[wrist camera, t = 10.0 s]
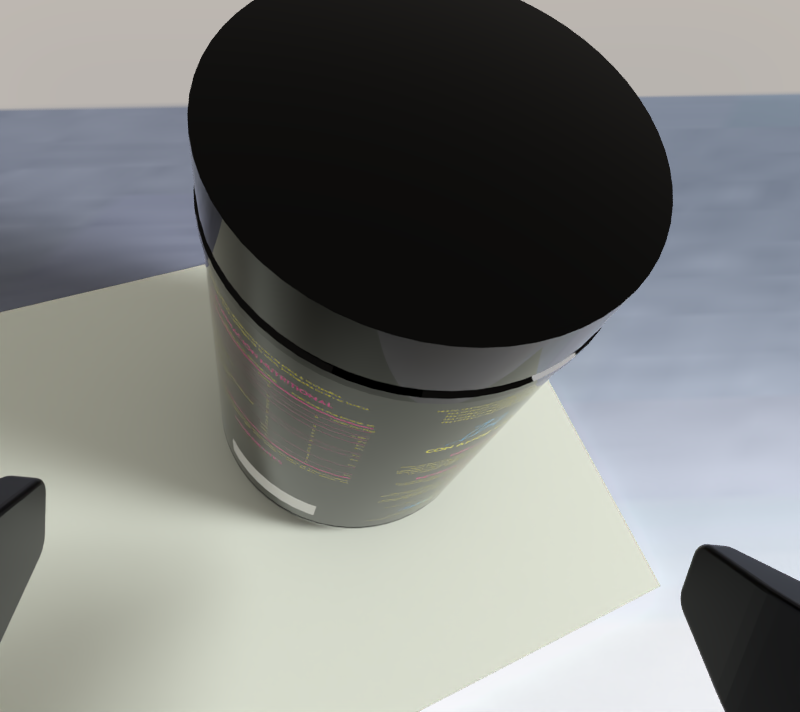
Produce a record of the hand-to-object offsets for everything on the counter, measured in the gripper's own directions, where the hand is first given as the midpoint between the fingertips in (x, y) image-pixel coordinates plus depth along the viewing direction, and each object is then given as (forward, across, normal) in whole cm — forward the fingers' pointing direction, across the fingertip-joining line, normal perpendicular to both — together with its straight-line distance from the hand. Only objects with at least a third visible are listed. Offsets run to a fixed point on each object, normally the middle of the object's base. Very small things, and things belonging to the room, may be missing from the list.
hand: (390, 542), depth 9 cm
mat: (+8, +2, +4) cm, 9 cm away
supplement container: (+9, 0, +2) cm, 9 cm away
